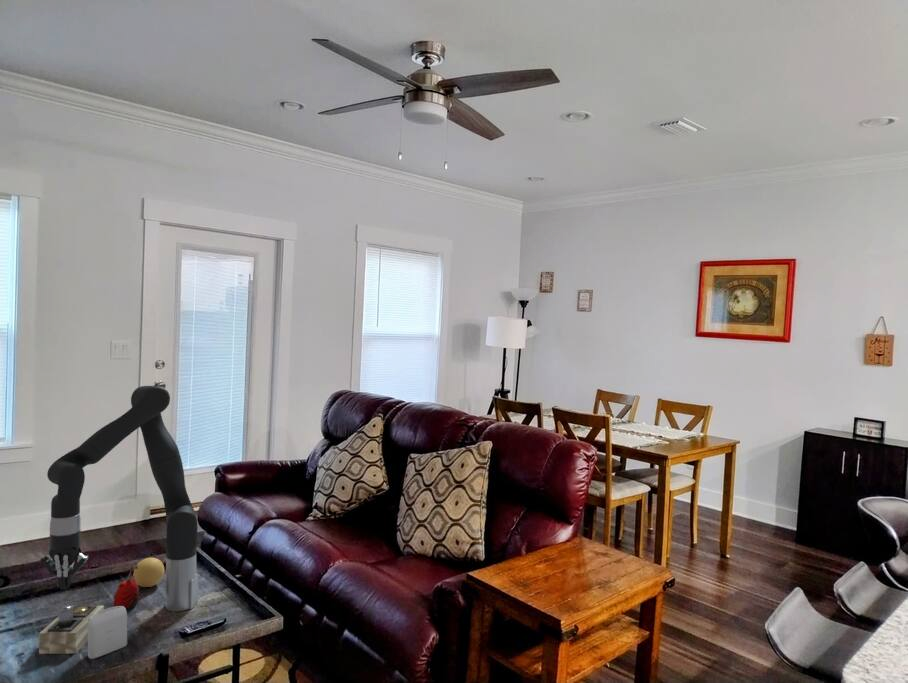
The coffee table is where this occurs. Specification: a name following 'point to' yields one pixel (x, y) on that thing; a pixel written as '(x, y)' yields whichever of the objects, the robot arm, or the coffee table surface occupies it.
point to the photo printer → (107, 631)
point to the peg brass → (80, 610)
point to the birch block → (67, 633)
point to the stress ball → (148, 572)
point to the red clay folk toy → (127, 593)
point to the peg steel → (65, 616)
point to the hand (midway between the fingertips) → (64, 588)
